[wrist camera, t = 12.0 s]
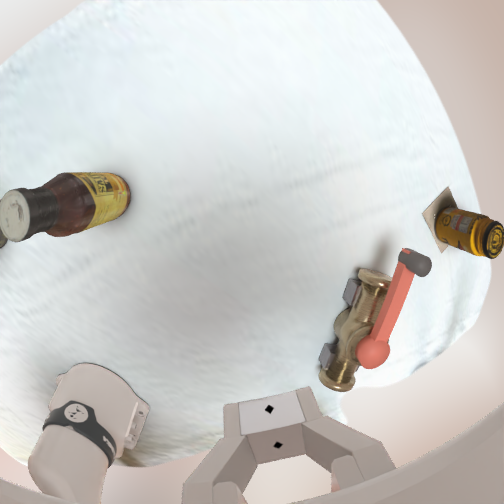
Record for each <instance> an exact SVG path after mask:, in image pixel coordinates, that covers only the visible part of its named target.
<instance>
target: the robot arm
mask: <svg viewBox="0 0 504 504" xmlns="http://www.w3.org/2000/svg"><path fill="white" fill-rule="evenodd" d="M56 383H57V386H58V387H57V389H56V391H55V393H54V395H53V397H52V399H51V401H50V403H49V409H50V412H51V413H50V414H49V416H48V417H47V418H46V420H45V423H44V425H43V433H42V434H41V436H40V438H39V440H38V442H37V443H36V445H35V447H34V449H33V451H32V453H31V455H30V457H29V459H28V469H29V473H30V475H31V477H32V479H33V481H34V482H35V484H36V485H37V486H38V488H39V489H40V490H41V491H42V492H43V493H40V492H37V491H34V490H31V489H28V488H26V487H23V486H20V485H18V484H15V483H13V482H10V481H8V480H6V479H3V478H1V477H0V504H101V494H102V488H103V483H104V479H105V475H106V471H107V468H109V467H110V466H111V464H112V463H113V461H114V459H115V458H119V457H121V456H122V454H123V450H124V448H128V449H131V450H133V448H134V447H135V446H136V444H137V441H138V439H139V436H140V433H141V431H142V428H143V425H144V423H145V420H146V417H147V415H148V412H149V409H150V407H149V405H148V404H147V403H145V402H144V401H143V400H141V399H140V398H139V397H137V396H136V395H135V393H134V392H133V391H132V389H131V388H130V387H129V386H128V384H127V383H126V382H125V381H124V380H122V379H121V378H120V377H119V376H117V375H116V374H114V373H113V372H111V371H109V370H107V369H105V368H103V367H101V366H98V365H94V364H87V363H83V364H77V365H75V366H73V367H72V368H71V369H70V370H69V371H68V372H67V373H65V374H60V375H58V376H57V378H56ZM223 413H224V438H223V439H220V440H219V441H218V442H217V443H216V445H215V446H214V447H213V449H212V450H211V451H210V452H209V454H208V455H207V456H206V457H205V458H204V460H203V461H202V462H201V463H200V464H199V466H198V467H197V468H196V469H195V470H194V472H193V473H192V474H191V475H190V476H189V478H188V479H187V480H186V481H185V483H183V490H182V491H183V492H182V504H248V503H247V502H246V500H245V498H244V497H243V495H242V494H243V492H244V490H245V488H246V487H247V485H248V483H249V481H250V479H251V477H252V475H253V473H254V472H255V470H256V468H257V464H262V463H267V462H271V461H276V460H280V459H281V458H282V459H285V458H290V457H295V456H299V455H304V454H306V455H307V456H309V457H310V458H311V459H312V460H314V461H315V462H317V463H318V464H319V465H321V466H322V467H323V468H325V469H326V470H328V471H329V472H330V473H332V483H331V485H332V487H331V493H329V494H325V495H322V496H318V497H315V498H311V499H307V500H303V501H298V502H294V503H290V504H504V402H503V403H502V404H501V405H500V406H498V407H497V408H496V409H495V410H493V411H492V412H491V413H489V414H488V415H487V416H485V417H484V418H482V419H481V420H480V421H478V422H477V423H475V424H474V425H473V426H471V427H470V428H468V429H467V430H465V431H464V432H462V433H461V434H459V435H457V436H456V437H454V438H453V439H451V440H449V441H448V442H446V443H444V444H443V445H441V446H439V447H437V448H436V449H434V450H432V451H431V452H428V453H427V454H425V455H423V456H421V457H419V458H417V459H415V460H413V461H411V462H409V463H407V464H405V465H403V466H401V467H398V468H396V467H395V465H394V463H393V462H392V460H391V458H390V456H389V455H388V453H387V451H386V450H385V448H384V446H383V444H382V443H381V442H380V441H378V440H376V439H374V438H371V437H369V436H367V435H365V434H363V433H360V432H359V431H356V430H354V429H352V428H350V427H348V426H346V425H344V424H342V423H340V422H338V421H336V420H334V419H332V418H330V417H328V416H325V417H323V416H322V413H321V411H320V409H319V406H318V404H317V402H316V399H315V397H314V395H313V392H312V390H311V388H310V387H309V386H308V387H305V388H301V389H297V390H294V391H290V392H286V393H282V394H278V395H274V396H269V397H265V398H260V399H254V400H249V401H243V402H239V403H232V404H224V407H223Z"/></svg>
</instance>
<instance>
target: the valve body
mask: <svg viewBox="0 0 504 504" xmlns="http://www.w3.org/2000/svg"><path fill="white" fill-rule="evenodd" d="M358 278H359V279H360V280H362V281H358V280H353V279H349V280H348V283H347V286H346V289H345V292H344V295H343V298H344V300H345V301H346V302H347V303H348V304H349V305H350V306H353V307H352V308H348V309H346V310H344V311H343V312H341V313H340V314H339V315H338V317H337V318H336V320H335V322H334V332H335V334H336V335H337V337H338V338H339V342H338V344H337V345H336V344H327V343H325V344H324V347H323V349H322V352H321V354H320V357H319V360H320V362H321V365H322V369H321V371H320V373H319V380H320V381H321V383H322V384H323V385H325V386H326V387H328V388H329V389H332V390H334V391H339V392H346V391H349V390H351V389H352V387H353V386H354V384H355V377H354V373H355V371H357V370H358V368H359V365H360V366H362V365H361V363H360V362H359V360H358V359H357V357H356V355H355V349H356V346H357V344H358V343H359V342H360V341H361V340H362V339H363V338H364V337H366V336H368V335H370V334H371V332H372V329H373V327H374V325H375V322H376V320H377V317H378V315H379V313H380V310H381V308H382V305H383V302H384V300H385V297H386V295H387V292H388V289H389V287H390V284H391V281H392V277H390V276H387V275H385V274H382V273H380V272H377V271H373V270H370V269H360V271H359V274H358ZM388 341H389V339H388ZM388 341H387V343H388Z"/></svg>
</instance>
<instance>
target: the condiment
mask: <svg viewBox="0 0 504 504" xmlns="http://www.w3.org/2000/svg"><path fill="white" fill-rule="evenodd" d="M422 214H423V216H424V218H425V220H426V222H427V224H428V226H429V228H430V230H431V232H432V235H433V237H434V239H435V241H436V243H437V245H438V247H439V249H440V251H441V253H442V252H443V251H444V250H445V249H446V248H447V247H448V245H451V246H453V247H456V248H459V249H460V250H464V251H466V252H469V253H471V254H473V255H476V256H485V257H487V258H491V259H494V258H496V257H497V256H498V255H499V254H500V252H501V251H502V248H503V246H504V228H503V226H502V224H501V223H499V222H497V221H494V220H492V219H490V218H489V217H488V216H485V215H482V214H477V213H474V212H469V211H465V210H460V209H458V207H457V205H456V202H455V200H454V198H453V196H452V193H451V191H450V189H449V187H448V188H447V189H446V190H444V191H443V192H442V193H441V195H439V196H438V197H437V198H436V200H435V201H433V202H432V204H431V205H430V206H429V207H428V208H427V209H426V210H425V211H424V212H423V213H422ZM434 214H435V216H434ZM434 217H435V219H434Z"/></svg>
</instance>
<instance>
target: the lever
mask: <svg viewBox="0 0 504 504" xmlns="http://www.w3.org/2000/svg"><path fill="white" fill-rule="evenodd" d="M431 266H432V262H431V260H430V258H429V257H427V256H424V255H422V254H420V253H418V252H416V251H414V250H411V249H409V248H405V249H404V248H402V251H401V252H400V254H399V257H398V264H397V267H396V270H395V272H394V275H393V278H392V281H391V284H390V287H389V289H388V292H387V295H386V297H385V300H384V302H383V305H382V308H381V310H380V313H379V315H378V317H377V320H376V322H375V325H374V327H373V329H372V332H371V334H370V335H368V336H366V337H364V338H363V339H362V340H361V341H360V342H359V343H358V344H357V346H356V349H355V355H356V357H357V359H358V360H359V362H360V363H361V365H362V366H363V367H364V368H366V369H373V368H376V367H378V366H380V365H381V364H383V363H384V362H385V361H386V359H387V358H388V356H389V353H390V346H389V345H388V343H387V341H388V339H389V337H390V335H391V332H392V330H393V328H394V326H395V323H396V321H397V319H398V316H399V314H400V311H401V309H402V306H403V304H404V301H405V299H406V296H407V294H408V291H409V288H410V286H411V283H412V280H413V277H414V275H415V274H416V275H418V276H420V277H425V276H426V275H427V274H428V273H429V272H430V270H431Z"/></svg>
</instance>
